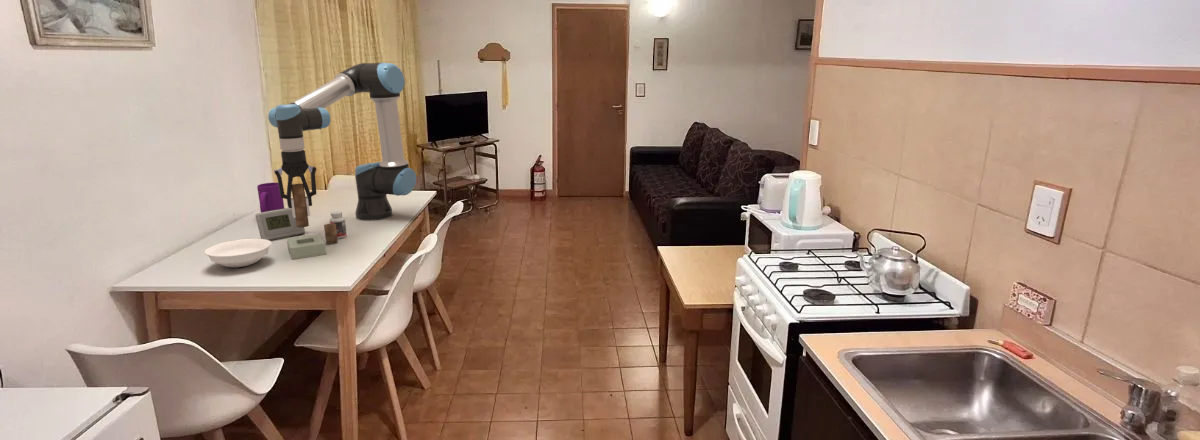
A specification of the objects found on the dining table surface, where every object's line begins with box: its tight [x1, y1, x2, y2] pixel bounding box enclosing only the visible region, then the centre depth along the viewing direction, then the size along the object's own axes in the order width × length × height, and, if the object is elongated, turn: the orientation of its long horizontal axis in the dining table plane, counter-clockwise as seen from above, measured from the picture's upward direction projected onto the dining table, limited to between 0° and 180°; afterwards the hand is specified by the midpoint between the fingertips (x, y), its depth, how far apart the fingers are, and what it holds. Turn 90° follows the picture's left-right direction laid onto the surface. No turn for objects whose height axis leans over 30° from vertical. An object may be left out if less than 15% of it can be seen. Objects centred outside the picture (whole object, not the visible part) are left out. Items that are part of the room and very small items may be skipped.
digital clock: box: [254, 207, 306, 241], centre depth 247 cm, size 16×9×11 cm, turn 121°
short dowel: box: [323, 222, 339, 245], centre depth 238 cm, size 4×4×7 cm
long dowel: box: [291, 183, 310, 228], centre depth 224 cm, size 4×4×15 cm
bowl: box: [203, 238, 272, 268], centre depth 214 cm, size 20×20×6 cm
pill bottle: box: [329, 210, 348, 239], centre depth 245 cm, size 5×5×10 cm
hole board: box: [286, 233, 327, 260], centre depth 228 cm, size 11×14×4 cm
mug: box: [257, 182, 285, 213], centre depth 270 cm, size 9×16×15 cm, turn 8°
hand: (301, 215), depth 225 cm, fingers closed on long dowel, 4 cm apart
